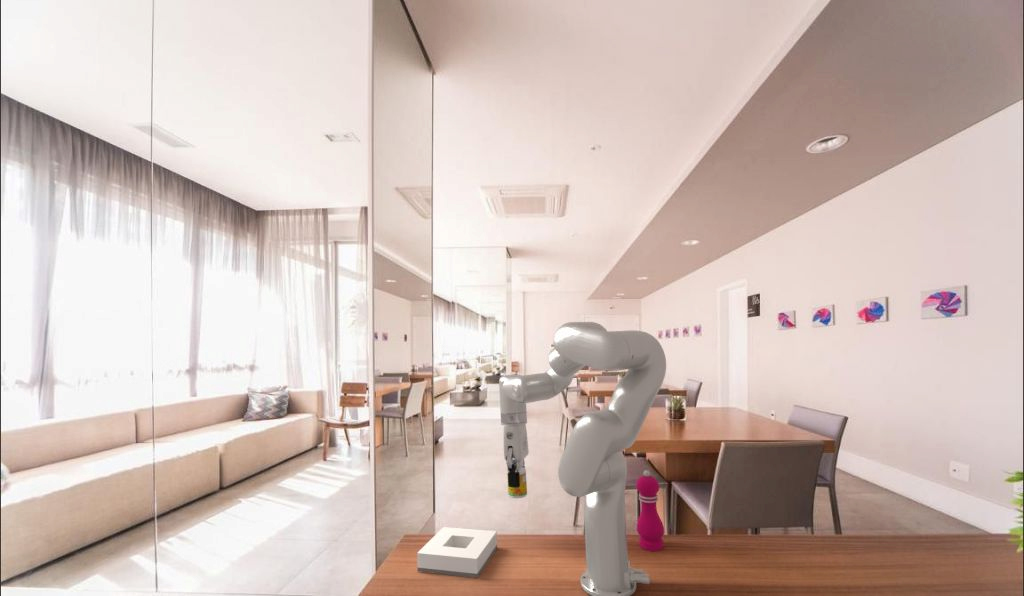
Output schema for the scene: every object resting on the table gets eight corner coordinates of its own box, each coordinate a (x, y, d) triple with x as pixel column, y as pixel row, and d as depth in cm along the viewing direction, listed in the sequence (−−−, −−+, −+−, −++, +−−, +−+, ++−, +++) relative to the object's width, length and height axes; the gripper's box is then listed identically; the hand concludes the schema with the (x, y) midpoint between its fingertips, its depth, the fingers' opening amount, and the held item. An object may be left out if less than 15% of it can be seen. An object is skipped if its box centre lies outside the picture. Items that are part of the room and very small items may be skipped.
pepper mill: (667, 553, 119) (661, 474, 121) (638, 551, 121) (633, 474, 123) (663, 540, 127) (658, 466, 128) (636, 539, 128) (632, 466, 130)
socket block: (497, 548, 126) (496, 531, 126) (477, 578, 111) (476, 558, 111) (443, 543, 130) (443, 526, 131) (417, 571, 115) (417, 552, 115)
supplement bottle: (504, 497, 128) (503, 462, 129) (513, 491, 133) (512, 457, 134) (521, 499, 126) (520, 463, 127) (530, 493, 130) (528, 458, 131)
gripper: (518, 423, 122) (522, 493, 120) (533, 413, 139) (536, 475, 137) (492, 423, 124) (495, 492, 122) (509, 413, 141) (512, 474, 139)
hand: (517, 482), depth 130 cm, fingers closed on supplement bottle, 5 cm apart
